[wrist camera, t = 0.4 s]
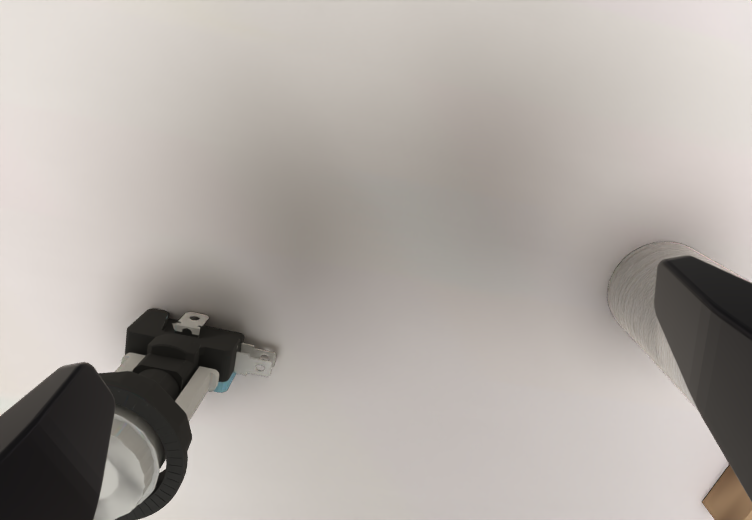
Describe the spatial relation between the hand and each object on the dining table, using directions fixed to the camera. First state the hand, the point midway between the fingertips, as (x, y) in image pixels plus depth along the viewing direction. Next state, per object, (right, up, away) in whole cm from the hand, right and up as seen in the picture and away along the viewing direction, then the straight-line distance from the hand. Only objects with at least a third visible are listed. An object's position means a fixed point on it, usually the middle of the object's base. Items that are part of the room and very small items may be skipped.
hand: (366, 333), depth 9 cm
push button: (-8, -3, +19) cm, 21 cm away
